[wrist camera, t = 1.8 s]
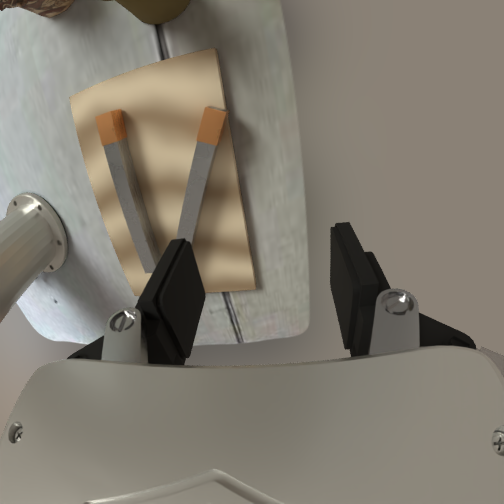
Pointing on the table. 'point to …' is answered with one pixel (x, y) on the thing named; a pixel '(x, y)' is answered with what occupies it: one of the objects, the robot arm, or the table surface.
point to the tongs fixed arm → (128, 187)
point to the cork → (154, 9)
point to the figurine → (38, 6)
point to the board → (169, 166)
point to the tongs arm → (201, 170)
